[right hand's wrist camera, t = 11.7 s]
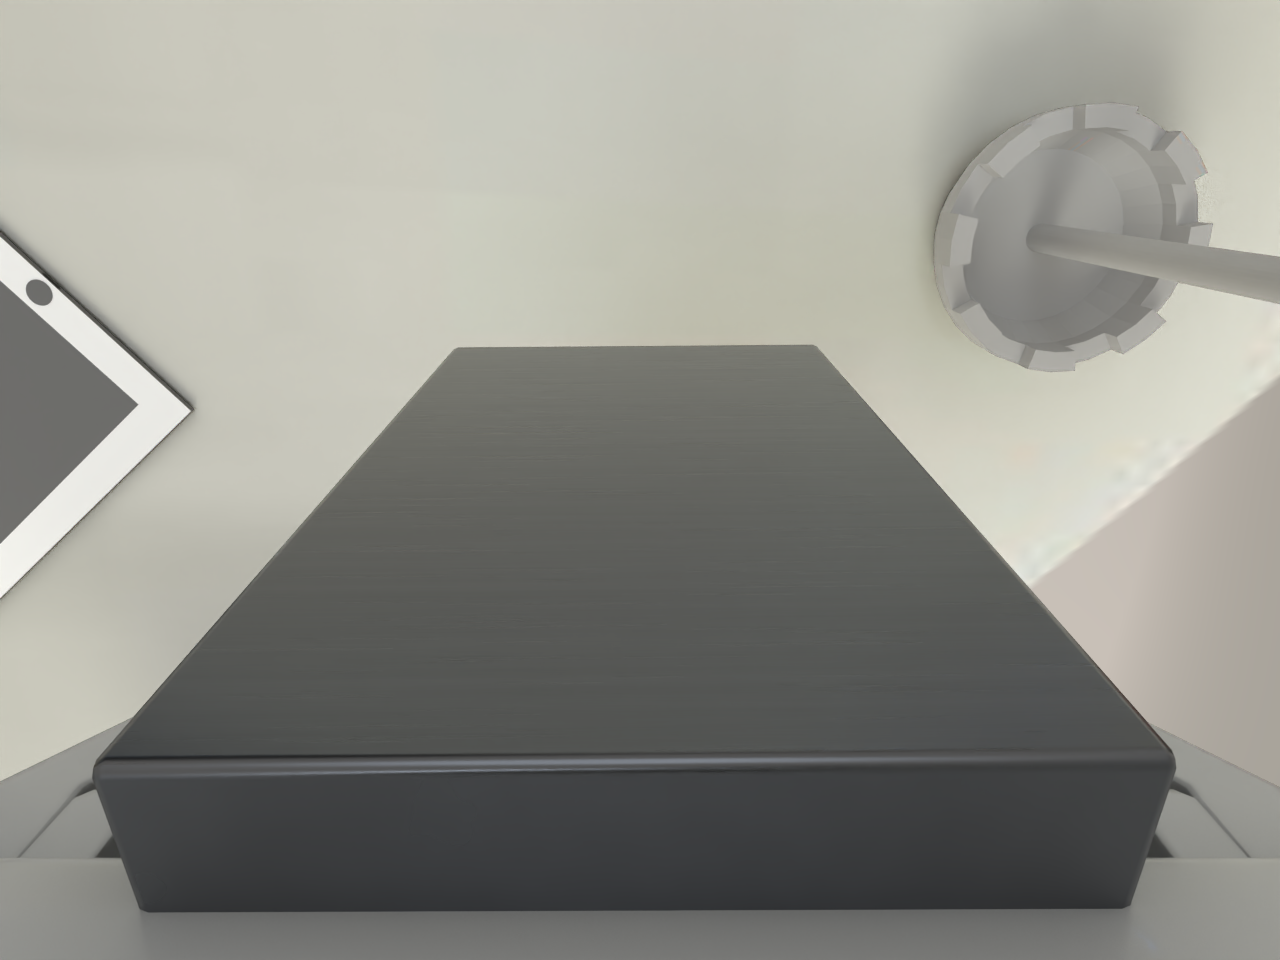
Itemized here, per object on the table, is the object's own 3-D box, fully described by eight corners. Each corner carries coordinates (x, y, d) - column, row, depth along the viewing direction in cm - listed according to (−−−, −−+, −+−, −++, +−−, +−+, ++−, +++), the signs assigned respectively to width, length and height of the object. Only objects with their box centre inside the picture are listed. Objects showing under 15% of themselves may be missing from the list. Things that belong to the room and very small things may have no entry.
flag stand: (891, 163, 43) (1348, 158, 16) (1132, 70, 42) (2129, -123, 14) (942, 381, 48) (1369, 679, 20) (1162, 305, 46) (1959, 513, 18)
